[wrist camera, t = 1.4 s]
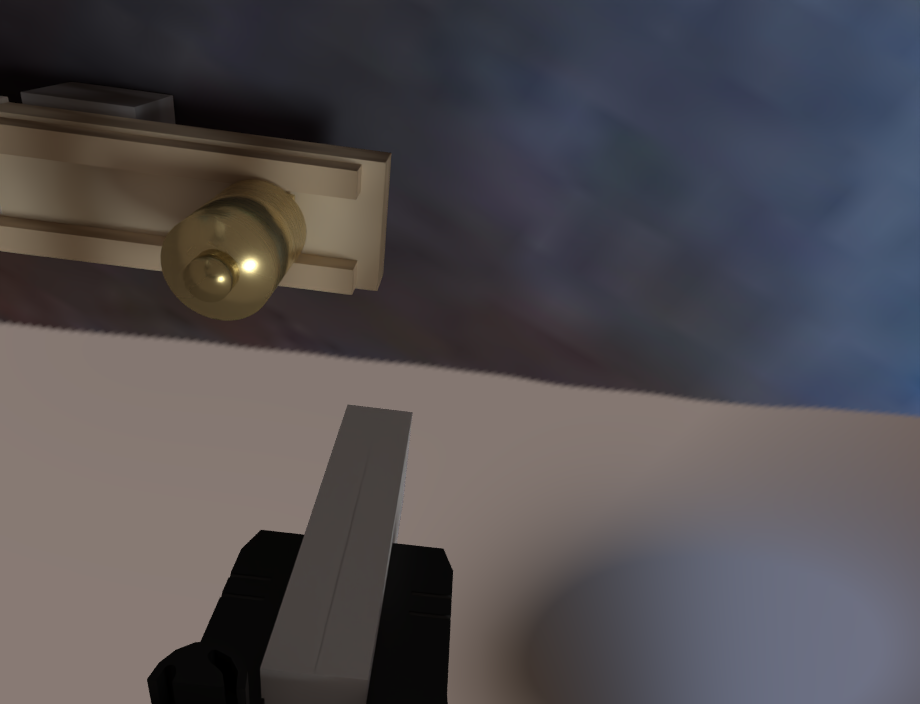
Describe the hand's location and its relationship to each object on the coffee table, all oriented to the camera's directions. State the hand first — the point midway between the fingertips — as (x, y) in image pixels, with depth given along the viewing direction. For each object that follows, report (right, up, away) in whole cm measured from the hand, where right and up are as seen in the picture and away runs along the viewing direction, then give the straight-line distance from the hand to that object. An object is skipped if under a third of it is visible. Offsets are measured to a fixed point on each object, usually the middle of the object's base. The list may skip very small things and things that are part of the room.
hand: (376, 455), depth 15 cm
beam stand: (-15, +13, +18) cm, 27 cm away
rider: (-7, +8, +13) cm, 17 cm away
